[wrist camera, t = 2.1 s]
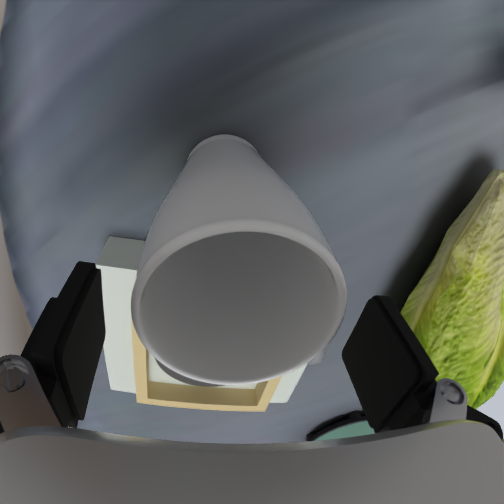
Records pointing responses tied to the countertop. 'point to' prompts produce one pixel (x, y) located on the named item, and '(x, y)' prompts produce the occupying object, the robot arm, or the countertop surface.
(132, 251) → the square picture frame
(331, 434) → the green blender
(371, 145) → the countertop surface
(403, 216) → the countertop surface
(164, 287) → the drinking glass
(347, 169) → the countertop surface
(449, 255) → the lettuce
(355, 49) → the countertop surface
